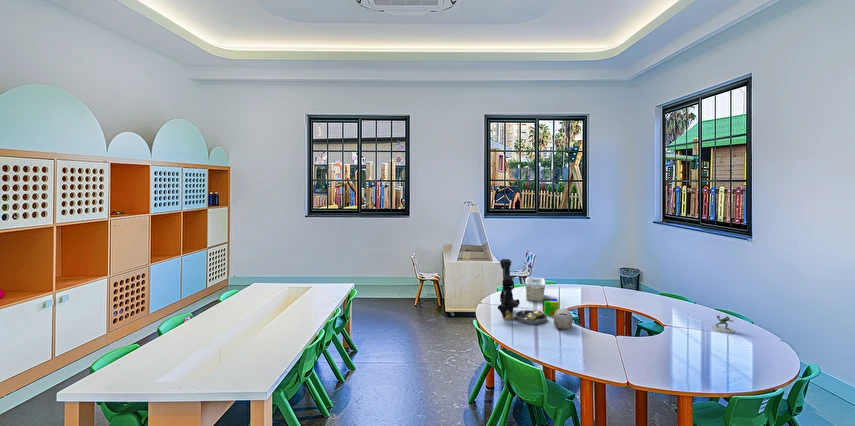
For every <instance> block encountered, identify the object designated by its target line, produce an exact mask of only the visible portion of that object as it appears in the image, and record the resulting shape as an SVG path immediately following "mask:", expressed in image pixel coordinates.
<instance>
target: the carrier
mask: <svg viewBox="0 0 855 426" xmlns="http://www.w3.org/2000/svg"><path fill="white" fill-rule="evenodd" d="M514 316H515V317H514V318H515V321H517V322H519V323H521V324H525V325H542V324H545V323H546V322H547V320H548V317H547V316H548V315H546V314H544V312H543V310H542V311H541V310H532V309H531V310H529V309H524V310H518V311H517V312H515V313H514Z"/></svg>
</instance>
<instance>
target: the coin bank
mask: <svg viewBox="0 0 855 426" xmlns="http://www.w3.org/2000/svg"><path fill="white" fill-rule="evenodd" d="M552 318H553V324H554V325H555V327H556V329H558V330H562V331H566V330H569V329H570V328H572V327H573V323H572V322H573V320H574V318H573V315H572V313H571V311H570V310H569V309H566V308H559V309H558V310H557V311H556V312H555V314H554V315H552Z"/></svg>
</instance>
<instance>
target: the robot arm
mask: <svg viewBox="0 0 855 426" xmlns="http://www.w3.org/2000/svg"><path fill="white" fill-rule="evenodd" d="M499 265H500V268H501V269H502V281H501V283H502V284H501V285H502V289H501V291H500V295H499V300H500V304H499V305H497V309H498V310H499V311H500V313H501V315H503V317H504V318H505V317H506V312H510V313H512V314H513V311H514V308H515V309H517V308H518V307H519V305H520V299H519V298H518V299H514V295H513V290H514V289H515V282H514V280H513V277H512V276H511V270H510V268H511V266H512V260H510V258H501V260H499Z"/></svg>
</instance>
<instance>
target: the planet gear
mask: <svg viewBox="0 0 855 426" xmlns="http://www.w3.org/2000/svg"><path fill="white" fill-rule="evenodd" d="M501 315H502V314H501ZM501 317H502V319H503V320H506V321H508V320H509V321H510V320H513V319H514V313H513V312H512V313H510V312H509V311H506V317H505V318H504V317H503V315H502V316H501Z"/></svg>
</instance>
